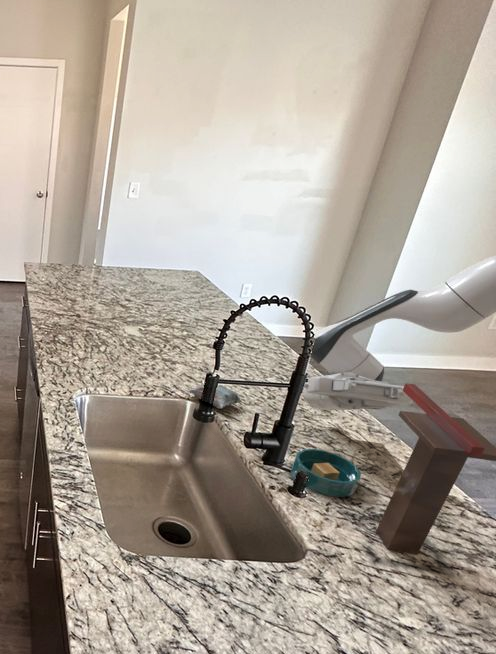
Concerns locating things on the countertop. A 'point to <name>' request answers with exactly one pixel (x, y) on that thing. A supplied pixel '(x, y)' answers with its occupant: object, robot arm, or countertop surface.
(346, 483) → the bowl
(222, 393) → the packaged food
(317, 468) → the block
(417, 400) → the red square bar
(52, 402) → the countertop surface
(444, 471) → the brown pedestal stand
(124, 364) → the countertop surface
